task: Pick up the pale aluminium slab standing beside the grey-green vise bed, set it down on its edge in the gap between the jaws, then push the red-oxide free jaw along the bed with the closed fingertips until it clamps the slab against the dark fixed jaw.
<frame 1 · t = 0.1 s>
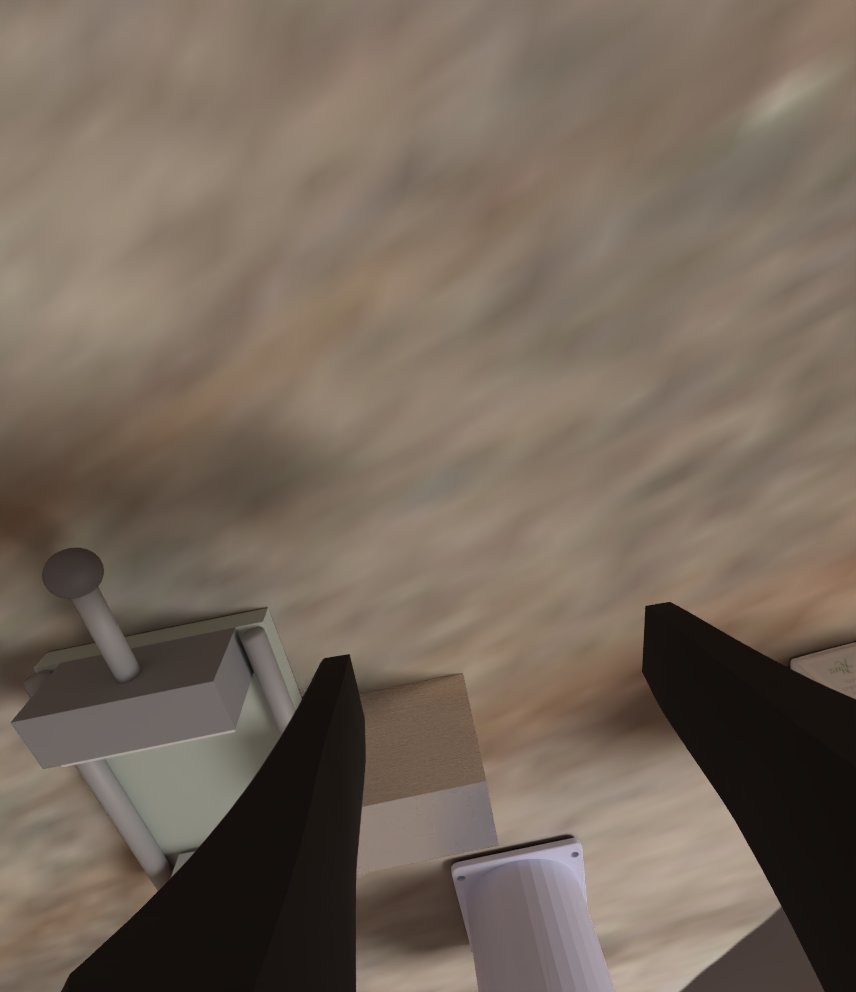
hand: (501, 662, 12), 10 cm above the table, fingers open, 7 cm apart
free jaw: (247, 887, 26), point 3 cm above the table, slide at 0.0 cm
vise base: (218, 755, 26), on the table
aluminium block: (401, 715, 26), on the table
syrup box: (834, 680, 28), on the table
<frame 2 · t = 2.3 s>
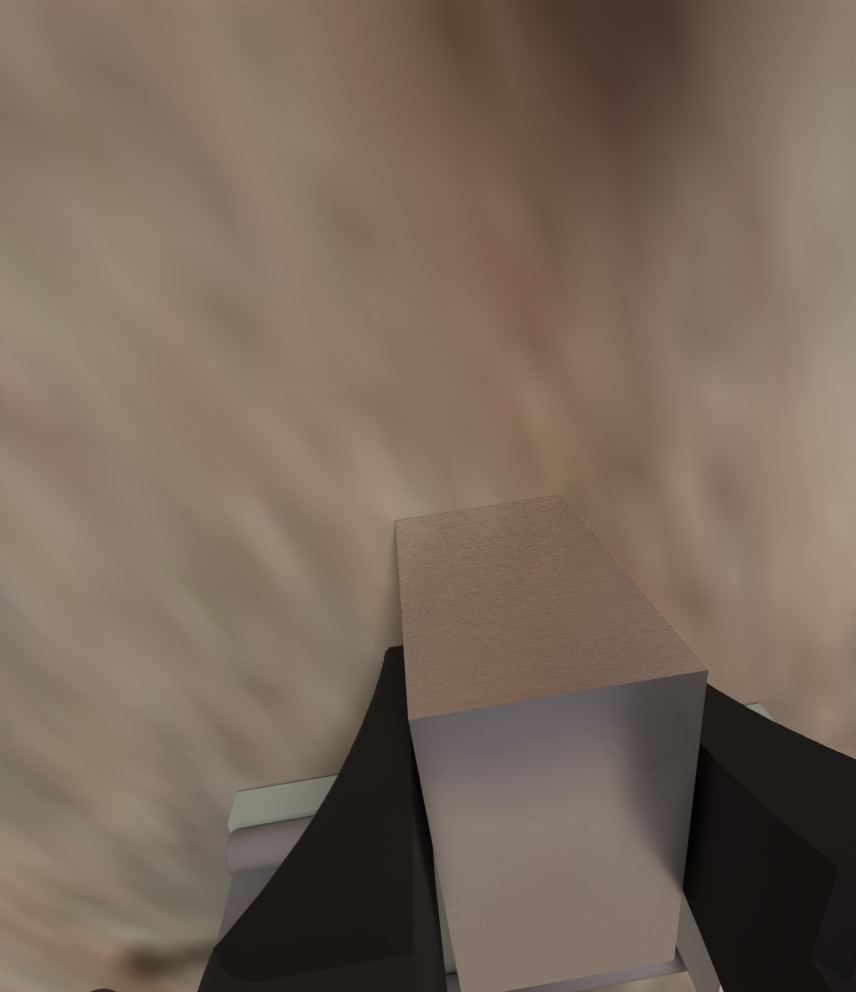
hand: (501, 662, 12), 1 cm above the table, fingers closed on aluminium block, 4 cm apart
free jaw: (749, 905, 15), point 3 cm above the table, slide at 0.0 cm
vise base: (512, 851, 17), on the table
aluminium block: (489, 625, 14), on the table, touching gripper
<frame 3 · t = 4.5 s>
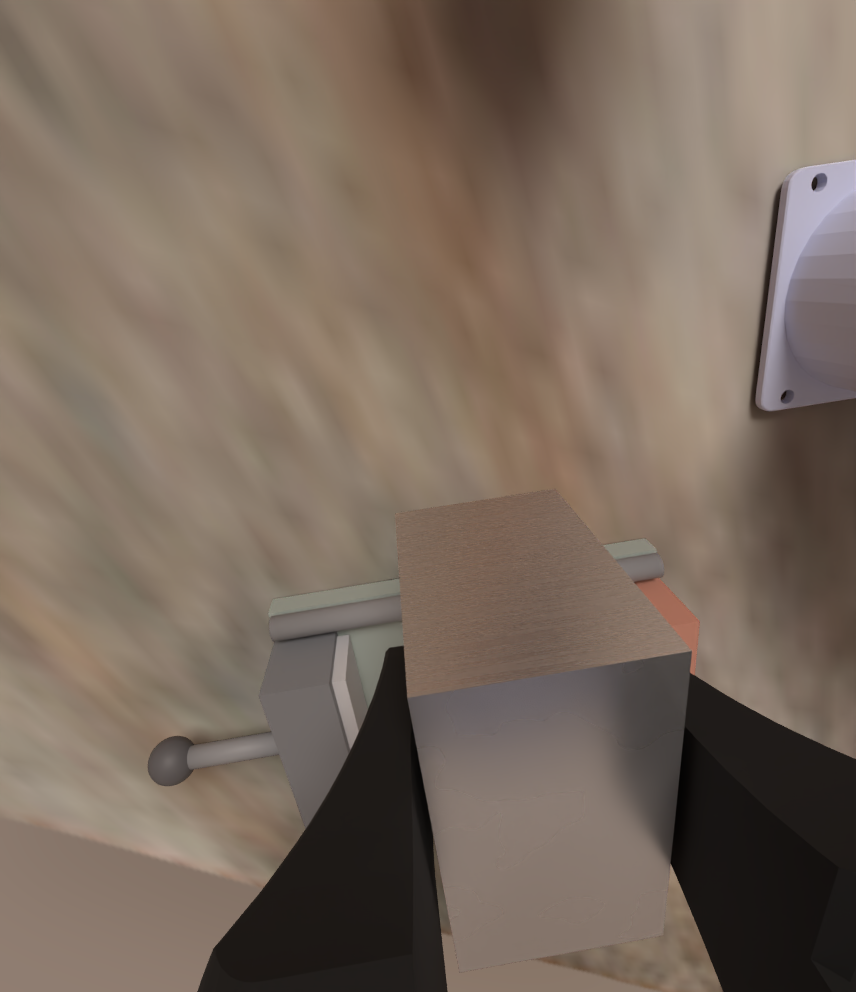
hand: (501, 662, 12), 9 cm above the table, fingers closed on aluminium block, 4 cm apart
free jaw: (636, 678, 21), point 3 cm above the table, slide at 0.0 cm
vise base: (472, 660, 23), on the table
aluminium block: (486, 616, 14), point 7 cm above the table, touching gripper
when the fingers open (4 cm above the table, at t = 7.0 s): aluminium block drops 1 cm, resting on vise base.
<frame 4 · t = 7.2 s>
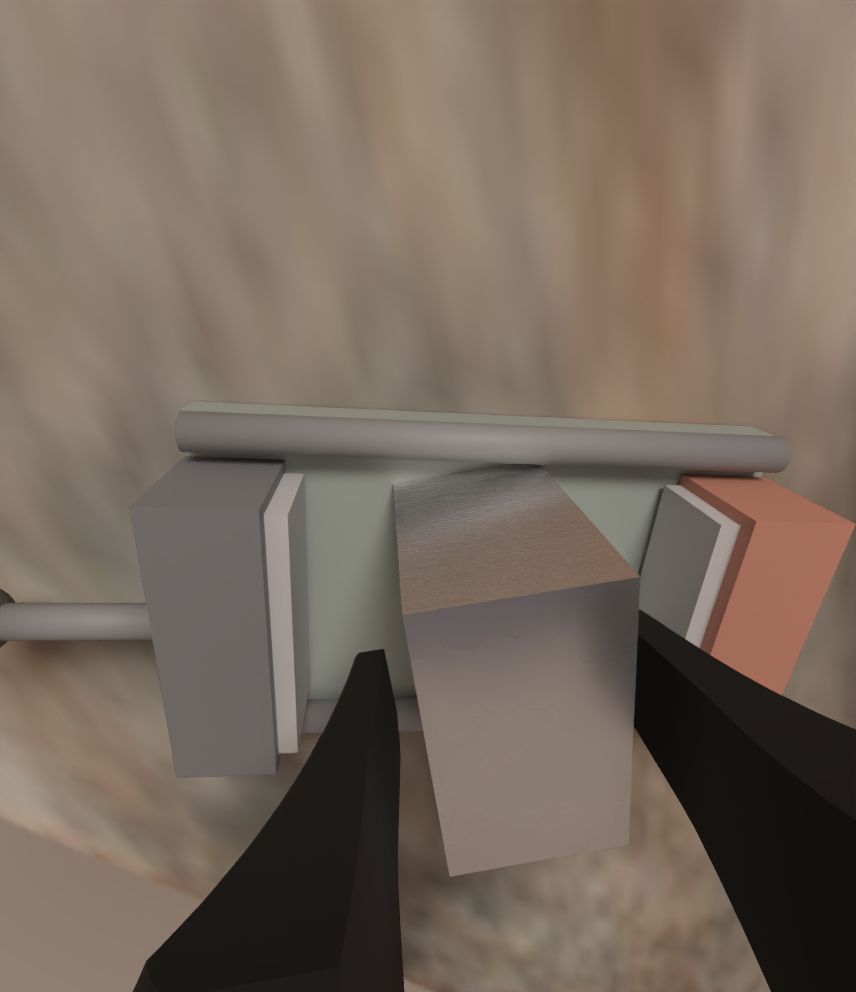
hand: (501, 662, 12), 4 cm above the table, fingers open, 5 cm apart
free jaw: (710, 618, 15), point 3 cm above the table, slide at 0.0 cm
vise base: (471, 568, 16), on the table
aluminium block: (476, 579, 15), point 1 cm above the table, touching vise base
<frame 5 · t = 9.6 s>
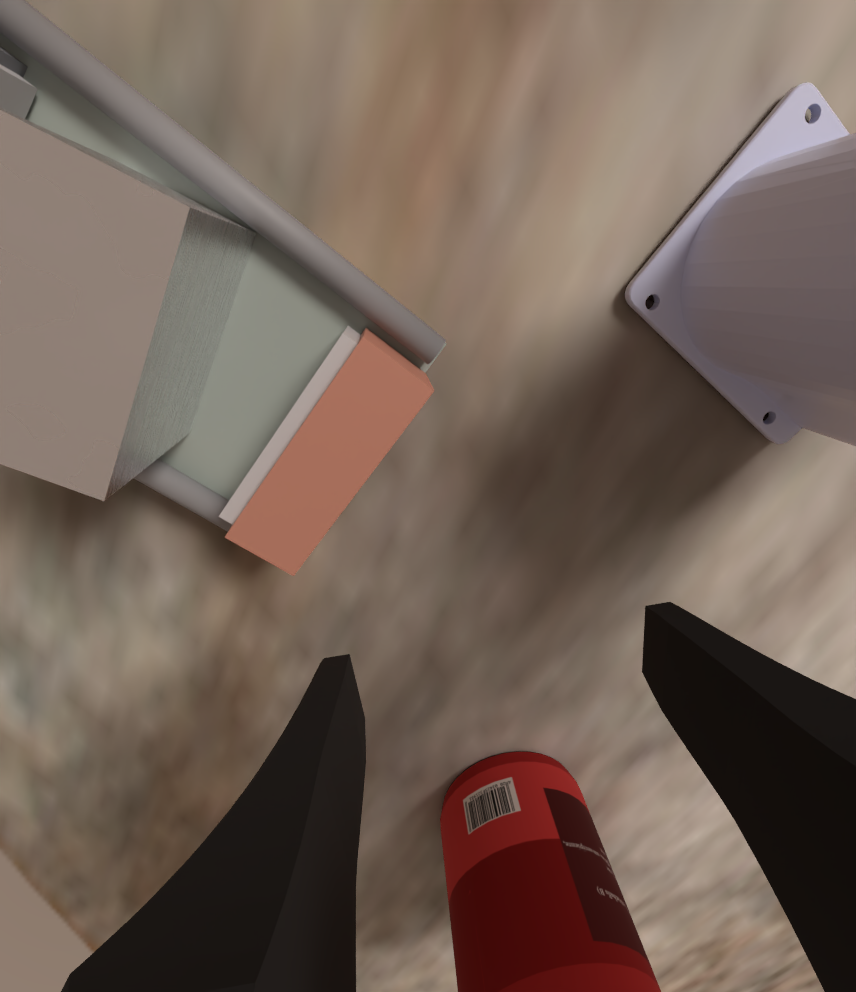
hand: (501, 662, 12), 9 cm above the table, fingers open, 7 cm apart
free jaw: (323, 446, 17), point 3 cm above the table, slide at 0.0 cm
vise base: (168, 315, 17), on the table
aluminium block: (158, 311, 16), point 1 cm above the table, touching vise base
canned food: (506, 794, 28), on the table
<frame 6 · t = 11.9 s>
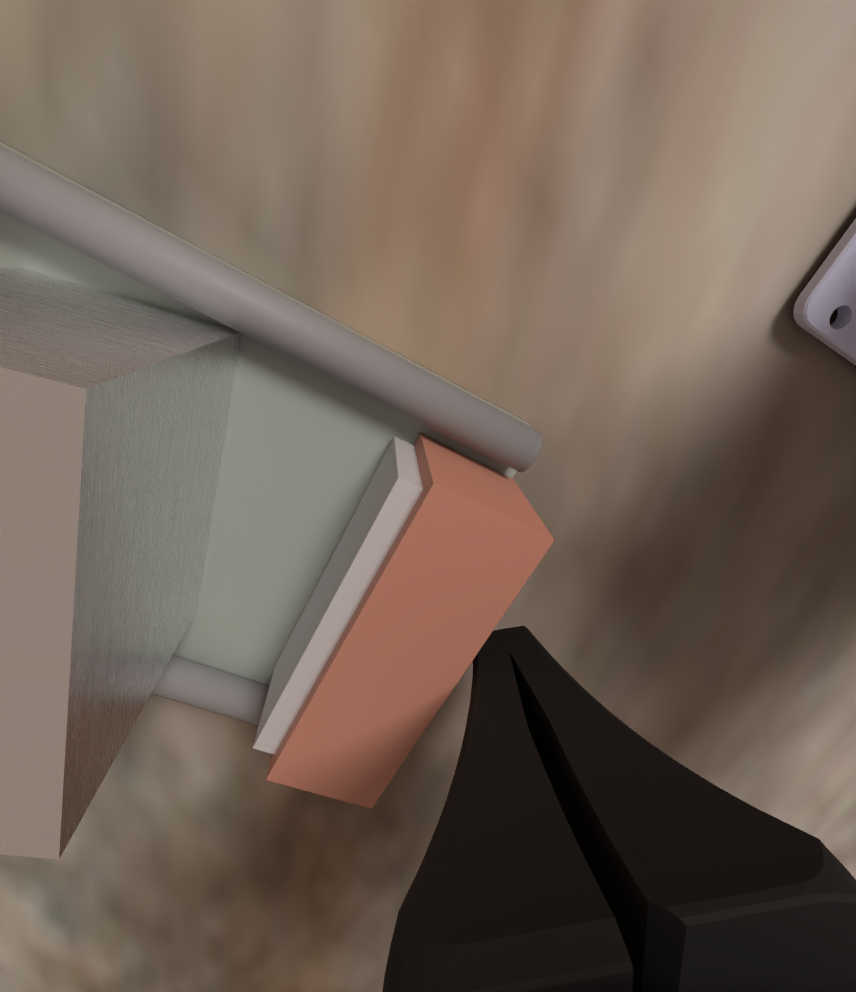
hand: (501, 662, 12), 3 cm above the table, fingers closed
free jaw: (385, 618, 11), point 3 cm above the table, slide at 0.0 cm, touching gripper
vise base: (141, 457, 12), on the table
aluminium block: (123, 464, 11), point 1 cm above the table, touching vise base
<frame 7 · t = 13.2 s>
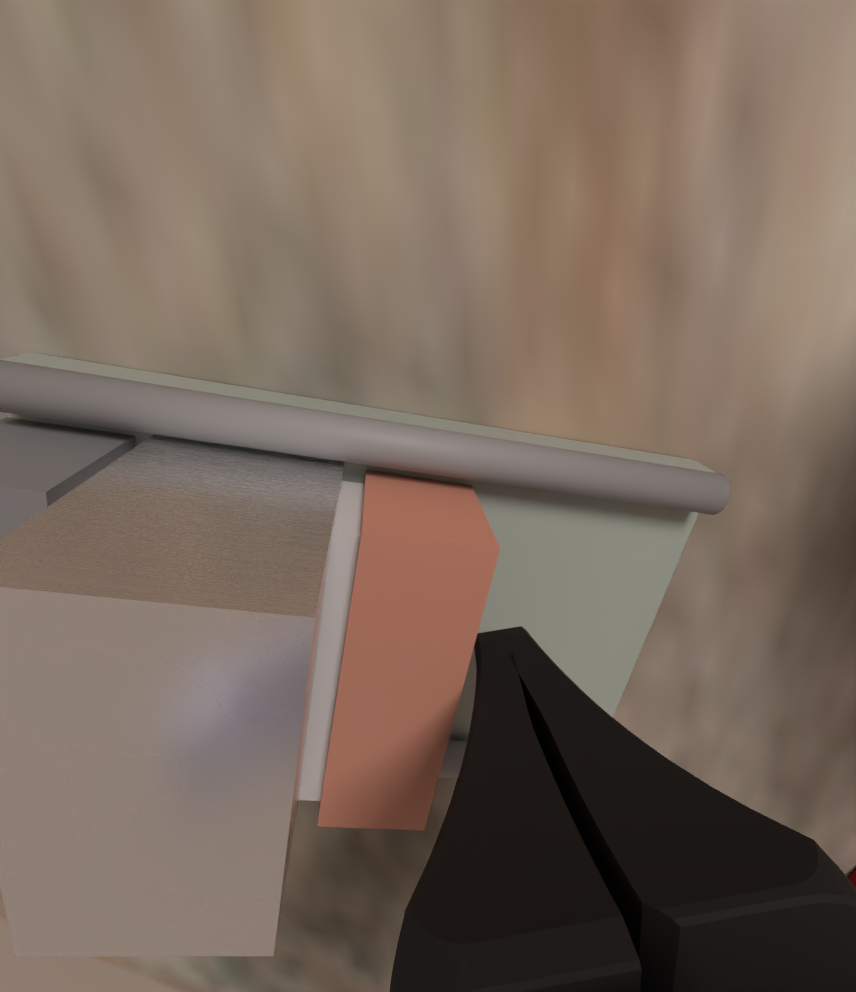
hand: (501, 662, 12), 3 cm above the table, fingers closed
free jaw: (385, 651, 12), point 3 cm above the table, slide at 6.0 cm, touching aluminium block, gripper
vise base: (366, 586, 14), on the table
aluminium block: (247, 578, 13), point 1 cm above the table, touching free jaw, vise base
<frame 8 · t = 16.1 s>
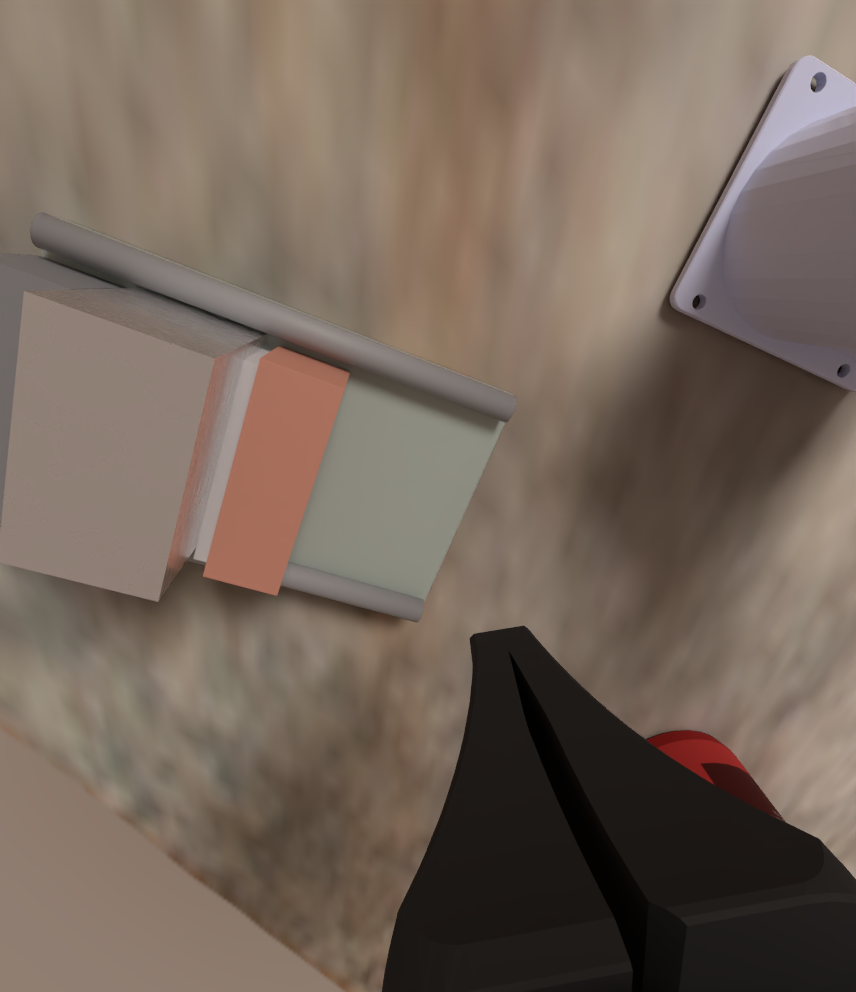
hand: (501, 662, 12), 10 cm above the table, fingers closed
free jaw: (271, 469, 17), point 3 cm above the table, slide at 6.0 cm, touching aluminium block
vise base: (271, 441, 20), on the table
aluminium block: (185, 409, 18), point 1 cm above the table, touching free jaw, vise base
canned food: (663, 773, 30), on the table
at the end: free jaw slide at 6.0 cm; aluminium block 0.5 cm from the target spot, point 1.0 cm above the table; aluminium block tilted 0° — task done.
